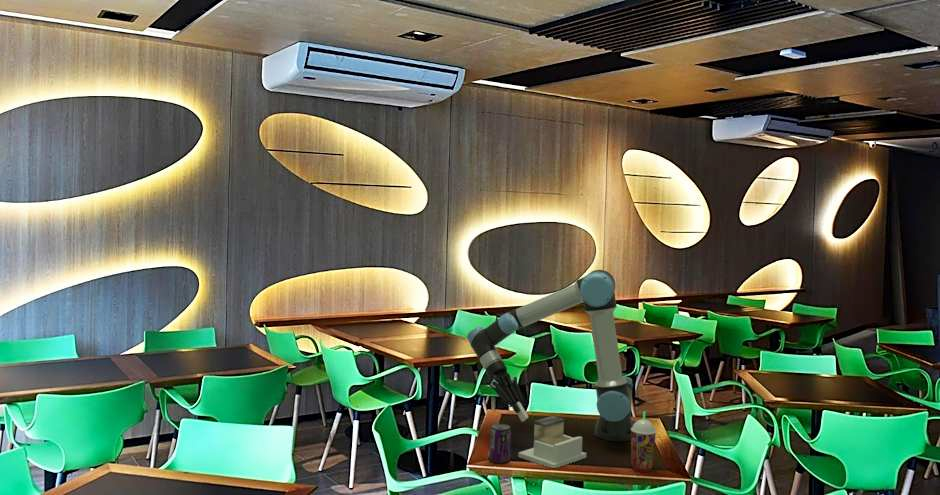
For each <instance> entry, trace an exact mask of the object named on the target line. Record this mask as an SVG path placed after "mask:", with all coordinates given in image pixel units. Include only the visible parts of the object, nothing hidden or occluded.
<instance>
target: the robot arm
mask: <svg viewBox="0 0 940 495" xmlns="http://www.w3.org/2000/svg"><path fill="white" fill-rule="evenodd" d="M615 289H616V280H615V279H614V276H613V275H612V274H611V273H610V272H609V271H608V270H604V269H595V270H592V271H591V272H589V273H588V274H587V275H585V276H583V277H581V278H579V279H576V280H575V282H574V283H573V284H572V285H569V286H567V287H565V288H562V289H560V290H558V291H555V292H552V293H551V294H548V295H546V296H544V297H543V296H542V297H541V298H539V299H536V300H535V301H532V302H529V303H528V304H525V305H523V306H521V307H518V308H516V309H513V310H511V311H507V312H505V313H503V314H502V315H501V316H500V317H499V318H497V319H496V320H494V321H493V322H492V323H491V324H490V325H488V326H487V327H485V328H484V327H483V326H477V327H475V328H473V329H471V330H470V331H469V332H468V334H467V336H466V338H467V341H468V343H469V345H470V347H471V349H472V350H473V352H474V353H475V356H476V357H477V359H478V361H479V362H480V363H481V365H482V367H483V369H484V370H485V372H486V375H487V376H488V378H489V379H491V383H490V384H489V387H490V388H491V389H492V390H494V392H495V393H496V394H497V396H498V397H499V398H500V399H501V401H502V402H503V403H504V405H506V406H508V407H509V408H512V409H513V411H514V412H515V413H516V415H517V416H518V418H519V420H520V421H521V423H522V422H525V421H526V420H527V419H528V418H529V415H528V413H527V411H526V410H525V409H526V408H525V407H524V405H523V403H522V401H523V400H524V396H523V394H522V391H521V389H520V386H519V384H518V379H517V378H518V377H517V376H513V377H512V376H511V375H510V373H509V372H508V367H507V365H506V363H505V362H504V361H503V360H502V356H501V355H500V353H499V352H498V350H497V348H496V347H495V346H497V345H498V344H500V343H501V342H503V341H504V340H505V339H506V338H508V337H509V336H511V335H513V334H514V333H515V332H516V331H517V330H520V329H522V328H524V327H526V326H529V325H532V324H534V323H536V322H538V321H542V320H544V319H546V318H548V317H551V316H553V315H555V314H558V313H561V312H563V311H565V310H568V309H570V308H573V307H575V306H577V305H579V304H582V303H583V306H584V307H583V308H584V312H585V313H587V314H588V315H589V320H590V321H589V322H590V326H591V328H590V329H591V334H592V335H591V336H592V340H593V341H592V342H593V348H594V355H595V362H596V369H597V376H598V379H597V381H596V382H595V392H596V409H597V412H598V414H599V416H598V418H597V422H596V423H595V428H594V435H595V436H596V437H597V438H599V439H602V440H604V441H610V442H627V441H628V442H629V441H631V428H632V426H633V424H634V423H633V420H632V400H633V387H634V385H633V379H632V378H630V377H628V376H624V375H623V372H622V366H621V364H622V363H621V358H620V351H619V344H618V336H617V331H616V323H615V315H614V312H615V311H616V309H617V300H616V299H617V298H616V292H615V291H616V290H615Z"/></svg>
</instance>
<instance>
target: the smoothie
mask: <svg viewBox="0 0 940 495" xmlns="http://www.w3.org/2000/svg"><path fill="white" fill-rule="evenodd" d="M656 434H657V429H656V428H655V425H654V424H653V423H652V422H651V421H650V420H649V419H646V411H644V410H643V414H642V418H641V419H638V420H635V422H634V423H633V426H632V428H631V440H630V444H631V446H630V447H631V450H630V452H631V453H630V454H631V466H632V469H633V470H634V471H636V472H639V473H648V472H650V471H651V469H652V468H653V461H654V454H655V453H654V452H655V444H656V443H655V442H656V436H657V435H656Z"/></svg>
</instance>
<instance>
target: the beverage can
mask: <svg viewBox="0 0 940 495" xmlns="http://www.w3.org/2000/svg"><path fill="white" fill-rule="evenodd" d="M511 438H512V430H511V426H510V425H508V424H506V423H505V424H504V423H495V424H492V426H491V429H490V432H489V460H491V461H493V462H494V463H497V464H504V463H506V462H509V461H510V460H511V446H512V445H511V442H512V440H511Z"/></svg>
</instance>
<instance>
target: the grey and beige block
mask: <svg viewBox="0 0 940 495" xmlns="http://www.w3.org/2000/svg"><path fill="white" fill-rule="evenodd" d="M533 423H534V424H533V425H534V430H533V431H534V432H533V442H534V441H535V440H537V441H540V442H543V443H546V444H549V445H552V446H553V445H554V444H557V443H560V442H563V435H564V427H565V418H562V417H559V416H556V415H555V416H554V415H551V416H547V417H544V418H540V419H538V420H534V422H533Z"/></svg>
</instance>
